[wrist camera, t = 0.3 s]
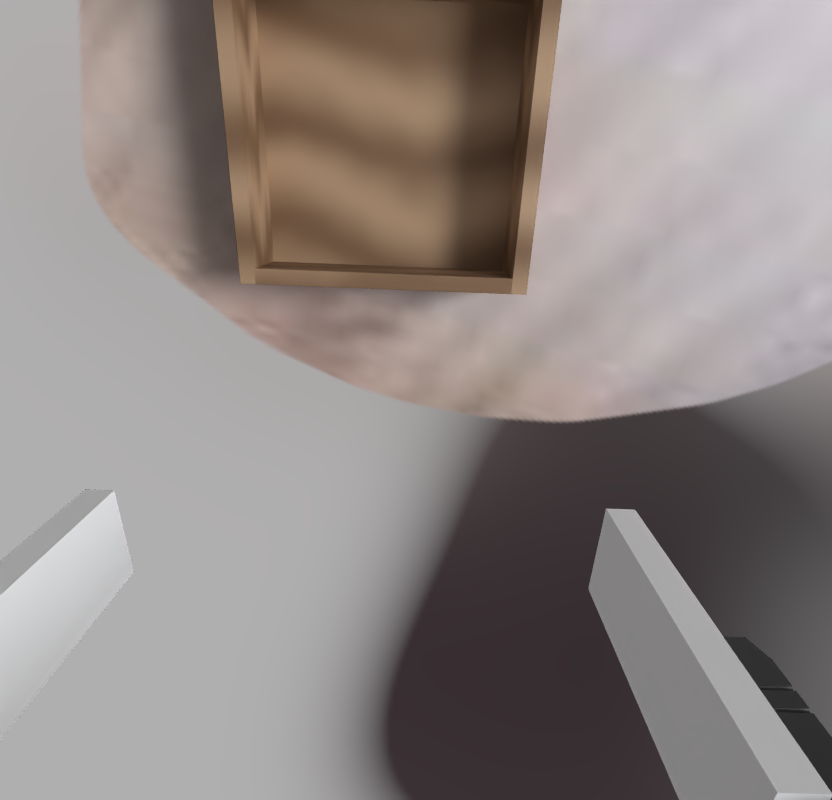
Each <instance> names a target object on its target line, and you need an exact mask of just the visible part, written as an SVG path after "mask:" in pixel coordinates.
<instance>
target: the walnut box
mask: <svg viewBox="0 0 832 800" xmlns="http://www.w3.org/2000/svg"><path fill="white" fill-rule="evenodd" d="M561 4H562V0H213V10H214V20H215V30H216V40H217V51H218V61H219V71H220V81H221V91H222V101H223V111H224V122H225V132H226V142H227V152H228V162H229V172H230V182H231V192H232V203H233V213H234V223H235V233H236V243H237V253H238V263H239V274H240V283H243V284H268V285H294V286H319V287H344V288H370V289H395V290H421V291H446V292H471V293H497V294H522V295H526V292H527V284H528V276H529V268H530V259H531V251H532V243H533V235H534V226H535V218H536V210H537V202H538V194H539V185H540V177H541V169H542V161H543V152H544V144H545V136H546V128H547V120H548V111H549V103H550V95H551V87H552V78H553V70H554V62H555V54H556V45H557V37H558V29H559V21H560V13H561Z"/></svg>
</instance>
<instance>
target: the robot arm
mask: <svg viewBox="0 0 832 800" xmlns="http://www.w3.org/2000/svg"><path fill="white" fill-rule="evenodd" d="M133 572H134V571H133V567H132V563H131V559H130V554H129V550H128V546H127V542H126V538H125V534H124V530H123V525H122V521H121V517H120V513H119V509H118V505H117V500H116V496H115V492H114V491H113V490H90V489H85V490H84V491H83V492H82V493H80V495H78V496H77V497H76V498H74V499H73V500H72V501H71V502H70V503H69V504H67V505H66V506H65V507H64V508H63V509H61V510H60V511H59V512H58V513H57V514H55V515H54V516H53V517H52V518H51V519H50V520H48V521H47V522H46V523H45V524H44V525H43V526H41V527H40V528H39V529H38V530H37V531H35V532H34V533H33V534H32V535H31V536H29V537H28V538H27V539H26V540H25V541H23V542H22V543H21V544H20V545H19V546H17V547H16V548H15V549H14V550H13V551H11V552H10V553H9V554H8V555H7V556H6V557H5V558H3V559H2V560H1V561H0V741H1V739H2V738H3V737H4V736H5V734H6V733H7V732H8V731H9V729H10V728H11V727H12V725H13V724H14V723H15V722H16V720H17V719H18V718H19V717H20V715H21V714H22V712H23V711H24V710H25V709H26V708H27V706H28V705H29V704H30V703H31V701H32V700H33V699H34V698H35V696H36V695H37V694H38V693H39V691H40V690H41V689H42V687H43V686H44V685H45V684H46V682H47V681H48V680H49V679H50V677H51V676H52V675H53V674H54V672H55V671H56V670H57V668H58V667H59V666H60V664H61V663H62V662H63V661H64V660H65V658H66V657H67V656H68V655H69V653H70V652H71V651H72V649H73V648H74V647H75V646H76V644H77V643H78V642H79V641H80V639H81V638H82V637H83V636H84V634H85V633H86V632H87V631H88V629H89V628H90V627H91V625H92V624H93V623H94V622H95V620H96V619H97V618H98V617H99V615H100V614H101V613H102V612H103V610H104V609H105V608H106V606H107V605H108V604H109V603H110V601H111V600H112V599H113V597H114V596H115V595H116V594H117V593H118V591H119V590H120V589H121V587H122V586H123V585H124V583H125V582H126V581H127V580H128V579H129V577H130V576H131V575H132V574H133ZM589 591H590V594H591V596H592V598H593V601H594V603H595V605H596V607H597V610H598V612H599V614H600V617H601V619H602V621H603V624H604V626H605V628H606V631H607V633H608V635H609V637H610V640H611V642H612V645H613V647H614V649H615V651H616V654H617V656H618V659H619V661H620V663H621V665H622V668H623V670H624V672H625V675H626V677H627V679H628V682H629V684H630V686H631V688H632V691H633V693H634V696H635V698H636V700H637V703H638V705H639V707H640V710H641V712H642V714H643V717H644V719H645V721H646V724H647V726H648V728H649V730H650V733H651V735H652V737H653V740H654V742H655V744H656V746H657V749H658V751H659V754H660V756H661V758H662V761H663V763H664V765H665V767H666V770H667V772H668V775H669V777H670V779H671V782H672V784H673V786H674V788H675V791H676V793H677V795H678V798H679V800H832V737H831V736H830V734H829V733H828V732H827V731H826V729H825V728H824V727H823V725H822V724H821V723H820V722H819V720H818V719H817V718H816V716H815V715H814V714H813V713H810V712H809V707H808V706H807V705H806V703H805V702H804V701H803V699H802V698H801V697H800V695H799V694H798V693H797V691H793V689H792V685H791V684H790V683H789V681H788V680H787V679H786V677H785V676H784V675H783V673H782V672H781V671H780V670H779V668H778V667H777V666H776V664H775V663H774V662H773V660H772V659H771V658H769V657H768V656H767V655H765V653H763V652H762V651H761V650H760V649H759V648H757V647H756V646H755V645H754V644H753V643H751V642H750V641H749V640H748V639H747V638H745V637H723V636H722V634H721V633H720V632H719V630H718V629H717V627H716V626H715V624H714V623H713V621H712V620H711V618H710V617H709V616H708V614H707V613H706V611H705V610H704V608H703V607H702V606H701V604H700V603H699V601H698V600H697V598H696V597H695V595H694V594H693V593H692V591H691V590H690V588H689V587H688V585H687V584H686V583H685V581H684V580H683V578H682V577H681V575H680V574H679V573H678V571H677V570H676V568H675V567H674V566H673V564H672V562H671V561H670V560H669V558H668V557H667V555H666V554H665V552H664V551H663V549H662V548H661V547H660V545H659V544H658V542H657V541H656V540H655V538H654V536H653V535H652V534H651V532H650V531H649V529H648V528H647V527H646V525H645V524H644V522H643V521H642V519H641V518H640V517H639V515H638V513H637V512H636V511H635V510H627V509H606V512H605V517H604V521H603V525H602V531H601V535H600V539H599V544H598V548H597V553H596V557H595V562H594V567H593V571H592V575H591V580H590V584H589Z"/></svg>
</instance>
